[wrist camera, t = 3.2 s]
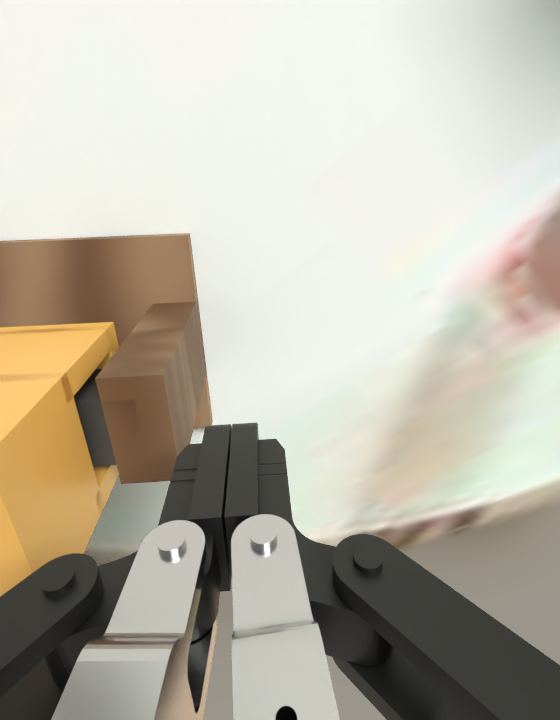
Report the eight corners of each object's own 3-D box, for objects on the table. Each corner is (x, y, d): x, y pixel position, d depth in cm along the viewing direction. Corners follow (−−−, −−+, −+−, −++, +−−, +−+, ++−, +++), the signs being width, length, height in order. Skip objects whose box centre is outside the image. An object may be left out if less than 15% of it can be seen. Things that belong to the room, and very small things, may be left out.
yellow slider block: (113, 321, 15) (-15, 457, 8) (137, 433, 17) (52, 621, 10) (-25, 328, 15) (-286, 474, 8) (16, 440, 17) (-158, 638, 10)
